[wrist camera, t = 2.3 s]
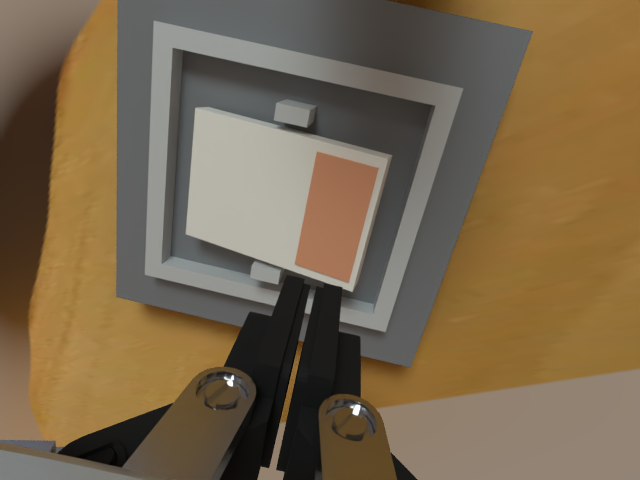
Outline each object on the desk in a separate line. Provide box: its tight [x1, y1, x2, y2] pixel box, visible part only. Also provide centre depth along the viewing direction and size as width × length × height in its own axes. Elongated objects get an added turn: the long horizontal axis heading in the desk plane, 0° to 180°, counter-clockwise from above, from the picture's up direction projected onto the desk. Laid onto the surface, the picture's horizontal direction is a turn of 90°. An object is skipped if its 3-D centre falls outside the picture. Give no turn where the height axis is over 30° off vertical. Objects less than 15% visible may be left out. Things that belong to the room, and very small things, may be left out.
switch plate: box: [116, 0, 533, 367], centre depth 23 cm, size 20×20×6 cm
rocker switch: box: [186, 107, 392, 292], centre depth 21 cm, size 10×7×1 cm
